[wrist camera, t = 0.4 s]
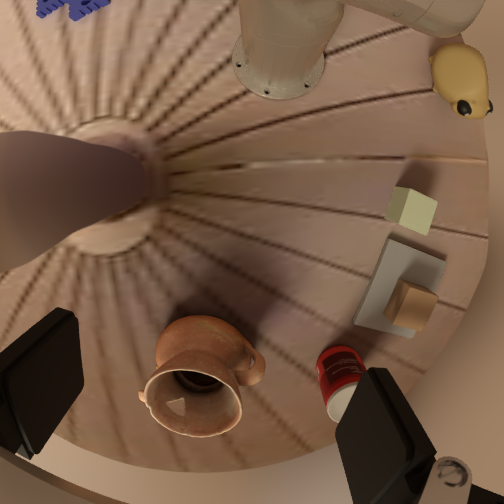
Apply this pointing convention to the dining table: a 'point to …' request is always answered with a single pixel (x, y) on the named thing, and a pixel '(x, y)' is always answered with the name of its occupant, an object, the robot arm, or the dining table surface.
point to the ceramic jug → (201, 375)
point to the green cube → (411, 209)
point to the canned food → (338, 378)
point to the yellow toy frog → (461, 79)
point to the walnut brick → (410, 305)
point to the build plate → (385, 278)
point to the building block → (70, 7)
